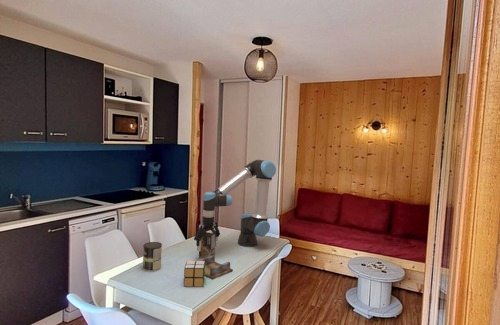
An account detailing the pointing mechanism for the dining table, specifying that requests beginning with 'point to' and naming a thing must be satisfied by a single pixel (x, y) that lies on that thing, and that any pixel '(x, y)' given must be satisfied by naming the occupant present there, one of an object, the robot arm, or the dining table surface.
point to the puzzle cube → (194, 274)
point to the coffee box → (207, 245)
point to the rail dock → (207, 271)
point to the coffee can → (152, 256)
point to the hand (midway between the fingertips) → (206, 248)
